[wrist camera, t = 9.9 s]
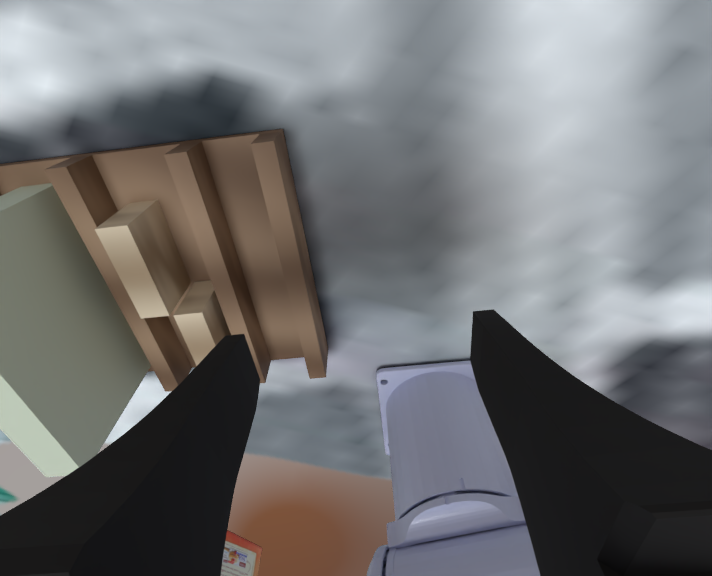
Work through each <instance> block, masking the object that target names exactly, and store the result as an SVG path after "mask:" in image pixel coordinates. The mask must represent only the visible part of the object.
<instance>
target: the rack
mask: <svg viewBox="0 0 712 576" xmlns="http://www.w3.org/2000/svg"><path fill="white" fill-rule="evenodd" d="M47 183H52V185H53V187H54V189H55V190H56V192H57V194H58V196H59V198H60V200H61V201H62V203H63V205H64V207H65V209H66V211H67V212H68V214H69V216H70V218H71V220H72V222H73V223H74V225H75V227H76V229H77V231H78V233H79V234H80V236H81V238H82V240H83V242H84V243H85V245H86V247H87V249H88V251H89V253H90V254H91V256H92V258H93V260H94V262H95V264H96V265H97V267H98V269H99V271H100V273H101V275H102V276H103V278H104V280H105V282H106V284H107V285H108V287H109V289H110V291H111V293H112V295H113V296H114V298H115V300H116V302H117V304H118V306H119V307H120V309H121V311H122V313H123V315H124V317H125V318H126V320H127V322H128V324H129V326H130V328H131V329H132V331H133V333H134V335H135V337H136V338H137V340H138V342H139V344H140V346H141V348H142V349H143V351H144V353H145V355H146V357H147V359H148V360H149V362H150V364H151V367H150V368H149V370H148V371H155V373H156V375H157V377H158V379H159V381H160V382H161V384H162V386H163V388H164V390H165V391H173V390H174V389H175V388H176V387H177V386H178V385H179V384H180V383H181V382H182V381H183V380H184V379H185V378H186V377H187V376H188V374H189V372H190V370H191V368H192V367H196V364H195V361H194V359H193V357H192V355H191V353H190V351H189V348H188V346H187V344H186V342H185V340H184V338H183V335H182V333H181V331H180V329H179V327H178V325H177V322H176V320H175V318H174V316H173V315H174V313H175V312H176V310H177V309H178V307H179V306H180V304H181V303H182V301H183V299H184V298H185V296H186V295H187V293H188V292H189V290H190V288H191V287H192V285H193V284H194V282H200V281H210V280H211V282H212V285H213V288H214V290H215V293H216V296H217V298H218V301H219V304H220V306H221V309H222V312H223V315H224V317H225V320H226V323H227V325H228V328H229V331H230V333H231V335H237V334H244V335H245V338H246V341H247V343H248V346H249V349H250V352H251V355H252V358H253V361H254V363H255V366H256V369H257V372H258V375H259V378H260V383H265V382H266V378H267V374H268V370H269V366H270V362H271V360H278V359H288V358H299V357H304V358H305V362H306V365H307V369H308V373H309V377H310V379H311V378H323V377H326V369H327V356H328V346H327V341H326V336H325V331H324V326H323V322H322V317H321V312H320V307H319V302H318V297H317V292H316V287H315V282H314V278H313V273H312V268H311V263H310V258H309V253H308V248H307V243H306V238H305V234H304V229H303V224H302V219H301V214H300V209H299V204H298V199H297V195H296V190H295V185H294V180H293V175H292V170H291V165H290V160H289V155H288V151H287V146H286V141H285V136H284V131H283V129H276V130H268V131H260V132H252V133H244V134H236V135H228V136H220V137H213V138H205V139H197V140H189V141H181V142H173V143H165V144H157V145H149V146H141V147H133V148H125V149H117V150H109V151H101V152H93V153H85V154H77V155H70V156H62V157H54V158H46V159H38V160H30V161H22V162H14V163H6V164H0V196H2V195H4V194H6V193H8V192H10V191H13V190H15V189H17V188H19V187H22V186H31V185H39V184H47ZM151 200H158V202H159V204H160V207H161V209H162V212H163V214H164V217H165V219H166V222H167V224H168V227H169V229H170V232H171V234H172V236H173V239H174V241H175V244H176V246H177V249H178V251H179V254H180V256H181V259H182V261H183V263H184V266H185V268H186V271H187V273H188V276H189V278H190V281H191V284H190V285H189V287H188V288H187V290H186V291H185V293H184V294H183V296H182V297H181V299H180V300H179V302H178V303H177V305H176V307H175V308H174V310H173V311H172V313H171V314H170V316H162V317H152V318H143V319H141V318H140V316H139V314H138V312H137V310H136V308H135V306H134V304H133V302H132V300H131V298H130V296H129V294H128V293H127V291H126V289H125V287H124V285H123V283H122V281H121V279H120V277H119V275H118V273H117V271H116V269H115V268H114V266H113V264H112V262H111V260H110V258H109V256H108V254H107V252H106V250H105V248H104V246H103V244H102V243H101V241H100V239H99V237H98V235H97V233H96V231H95V228H97V227H98V226H99V225H101V224H102V223H103V222H105V221H106V220H107V219H109V218H110V217H111V216H113V215H114V214H115V213H117V212H118V211H119V210H121V209H122V208H123V207H125V206H126V205H127V204H129V203H134V202H142V201H151Z"/></svg>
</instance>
